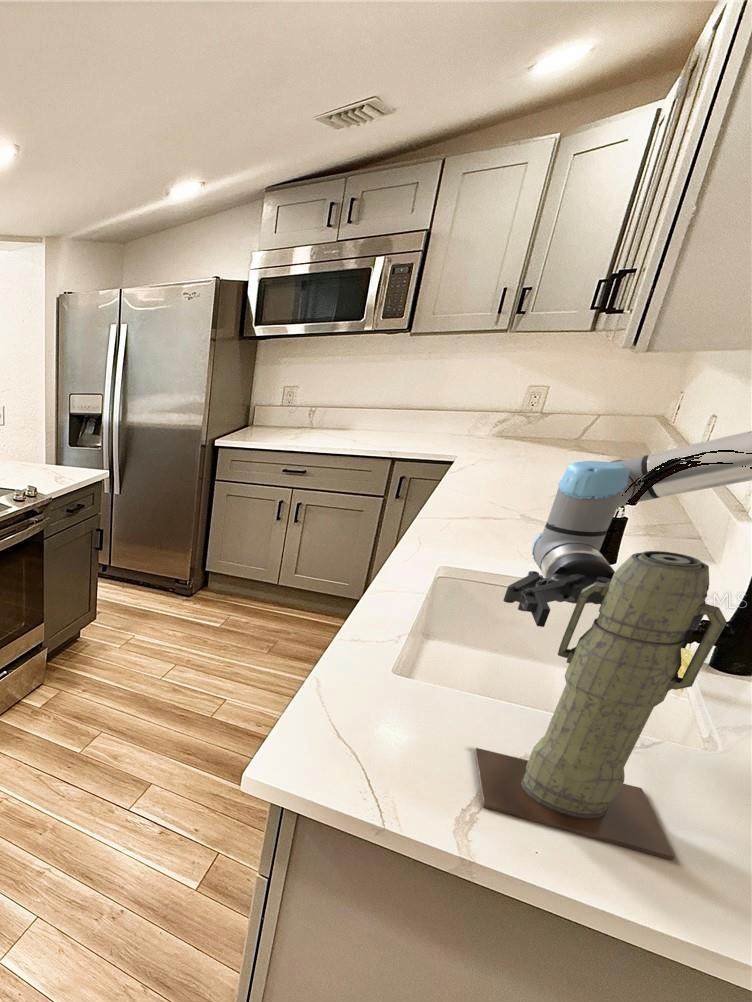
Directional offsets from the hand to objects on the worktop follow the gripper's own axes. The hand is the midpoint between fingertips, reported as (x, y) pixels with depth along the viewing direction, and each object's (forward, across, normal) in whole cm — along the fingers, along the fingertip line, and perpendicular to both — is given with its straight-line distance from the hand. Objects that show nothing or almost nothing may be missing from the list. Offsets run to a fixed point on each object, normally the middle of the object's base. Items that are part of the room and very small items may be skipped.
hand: (611, 628), depth 82 cm
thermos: (+10, 0, -22) cm, 24 cm away
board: (+10, 0, -22) cm, 24 cm away
